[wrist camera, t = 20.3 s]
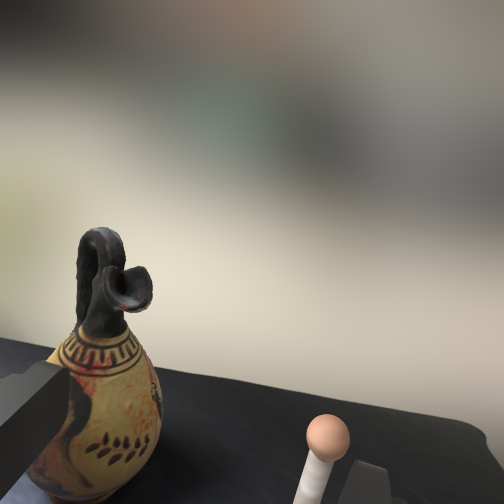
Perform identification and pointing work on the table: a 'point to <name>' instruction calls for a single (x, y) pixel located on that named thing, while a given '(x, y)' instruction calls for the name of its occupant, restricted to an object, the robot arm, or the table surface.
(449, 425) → the table surface
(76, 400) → the ceramic jug
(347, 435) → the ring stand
